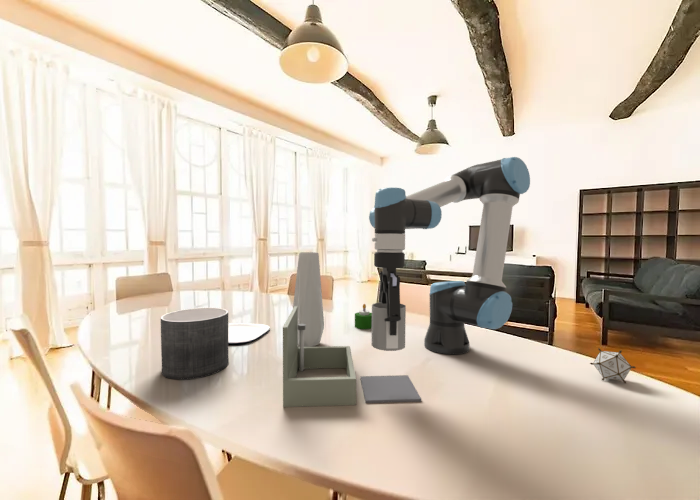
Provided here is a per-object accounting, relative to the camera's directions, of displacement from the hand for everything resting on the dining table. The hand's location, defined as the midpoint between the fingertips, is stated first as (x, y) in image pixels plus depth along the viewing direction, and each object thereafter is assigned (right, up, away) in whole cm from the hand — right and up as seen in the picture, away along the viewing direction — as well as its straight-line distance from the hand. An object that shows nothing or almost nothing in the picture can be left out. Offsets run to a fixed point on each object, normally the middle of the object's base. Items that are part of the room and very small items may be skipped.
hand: (388, 341), depth 80 cm
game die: (+61, -12, +6) cm, 62 cm away
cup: (0, -1, 0) cm, 1 cm away
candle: (-3, -11, +58) cm, 59 cm away
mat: (0, -12, 0) cm, 12 cm away
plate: (-56, -11, +46) cm, 73 cm away
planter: (-55, -12, +14) cm, 58 cm away
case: (-17, -12, +3) cm, 21 cm away
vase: (-24, -11, +35) cm, 44 cm away
